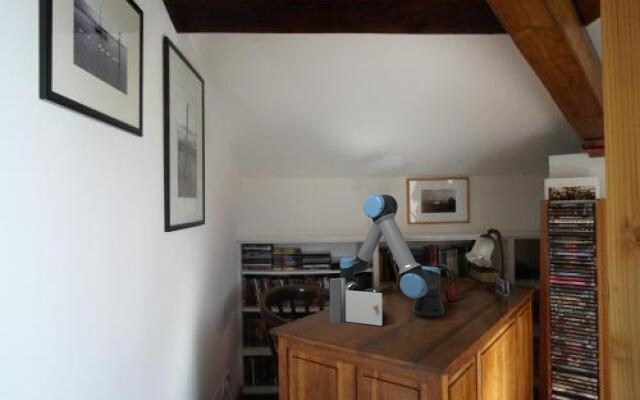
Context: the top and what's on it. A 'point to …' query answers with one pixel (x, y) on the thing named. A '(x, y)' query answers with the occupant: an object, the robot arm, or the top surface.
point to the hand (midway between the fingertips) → (375, 302)
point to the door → (364, 307)
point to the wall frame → (337, 300)
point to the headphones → (451, 289)
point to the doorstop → (372, 290)
